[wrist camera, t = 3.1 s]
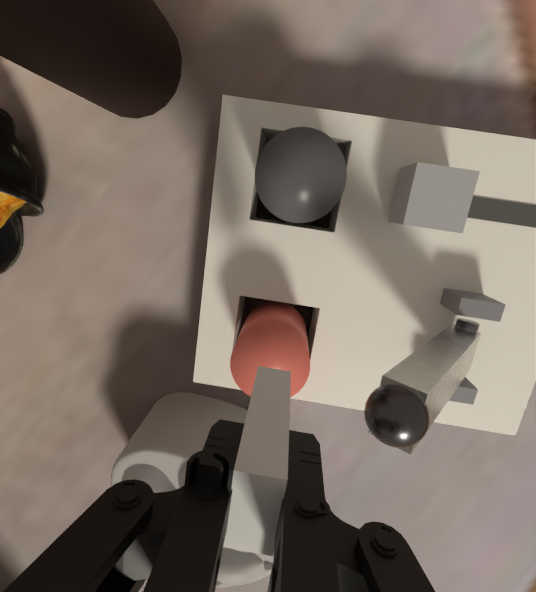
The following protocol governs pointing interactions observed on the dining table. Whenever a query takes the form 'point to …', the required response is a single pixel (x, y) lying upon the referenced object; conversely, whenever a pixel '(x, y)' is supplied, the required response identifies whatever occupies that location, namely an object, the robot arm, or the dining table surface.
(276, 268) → the panel
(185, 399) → the lumpy-topped squat cylinder
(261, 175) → the button black
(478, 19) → the dining table surface
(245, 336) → the button red
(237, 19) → the dining table surface
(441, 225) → the slider knob
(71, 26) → the bottle
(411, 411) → the lever
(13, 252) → the fried shrimp in bowl
